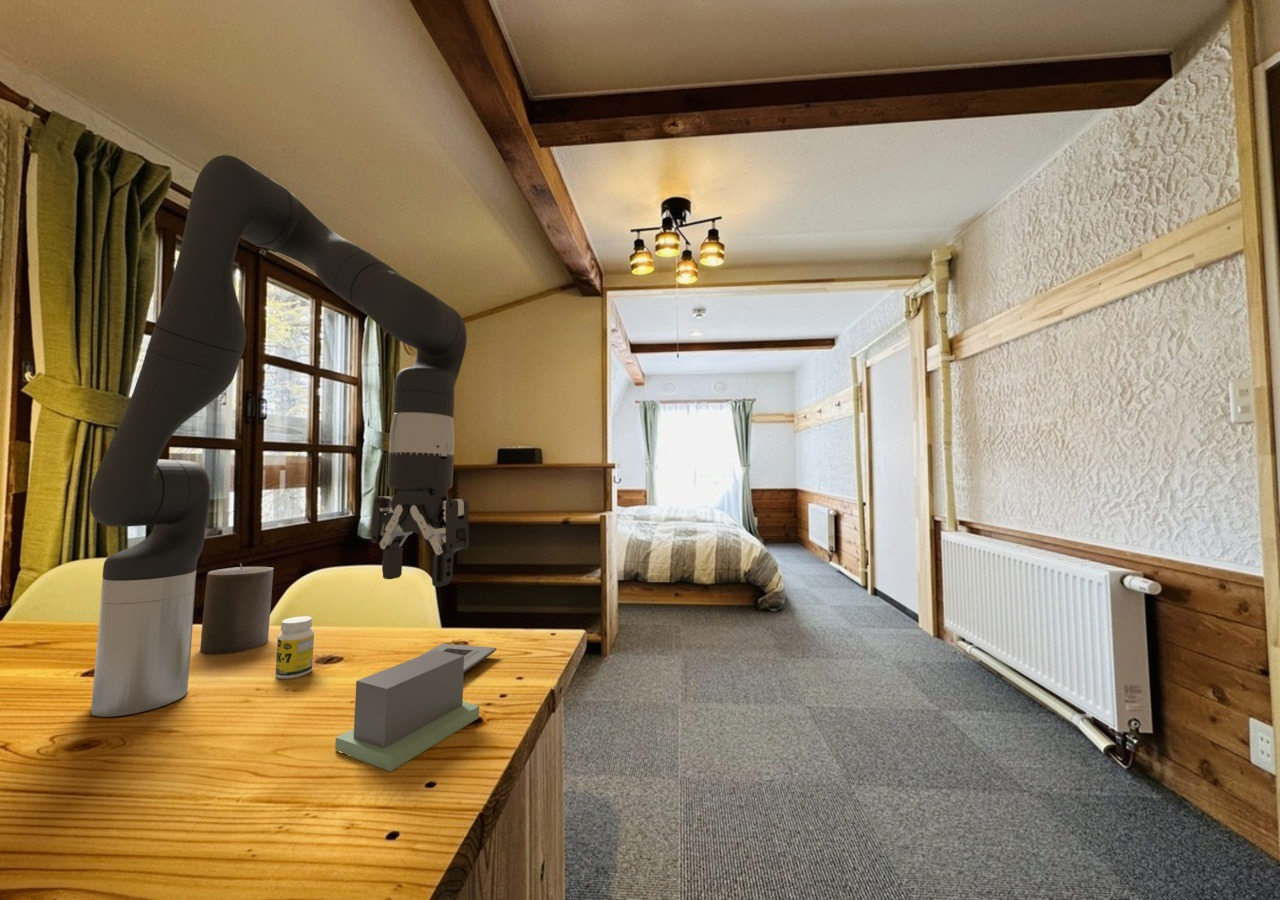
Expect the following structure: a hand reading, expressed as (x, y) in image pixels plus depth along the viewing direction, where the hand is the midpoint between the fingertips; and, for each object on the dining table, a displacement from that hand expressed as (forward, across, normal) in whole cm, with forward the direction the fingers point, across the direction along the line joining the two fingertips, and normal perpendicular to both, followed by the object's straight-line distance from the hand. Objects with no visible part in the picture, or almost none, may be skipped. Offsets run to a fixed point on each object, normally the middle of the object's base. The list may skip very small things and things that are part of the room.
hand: (416, 581), depth 60 cm
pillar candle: (+19, -55, +8) cm, 59 cm away
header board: (+18, 0, 0) cm, 18 cm away
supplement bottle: (+18, -32, +5) cm, 37 cm away
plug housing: (+17, 0, 0) cm, 17 cm away
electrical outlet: (+19, -12, +17) cm, 28 cm away
